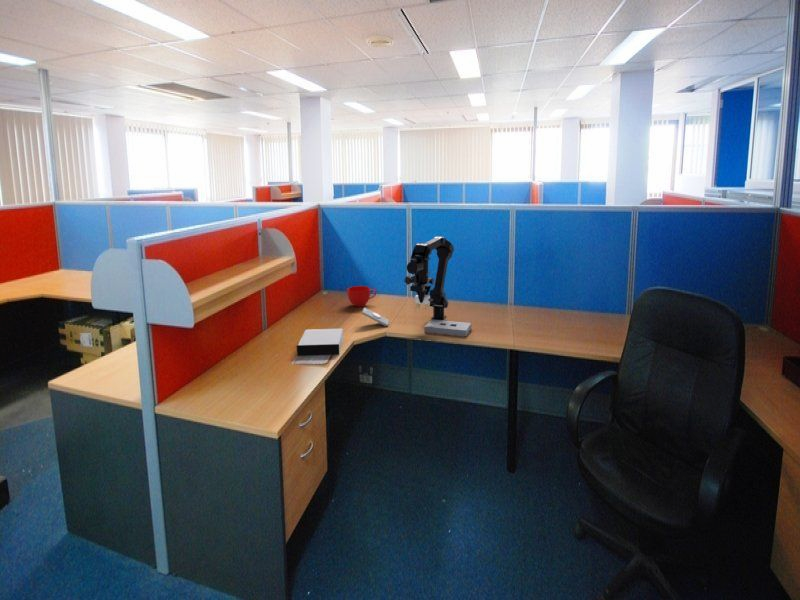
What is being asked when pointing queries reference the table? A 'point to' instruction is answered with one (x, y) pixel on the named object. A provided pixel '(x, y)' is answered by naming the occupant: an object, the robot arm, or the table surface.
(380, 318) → the light switch
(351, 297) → the ceramic cup
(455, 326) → the socket
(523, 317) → the table surface
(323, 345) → the disc drive
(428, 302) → the plug
